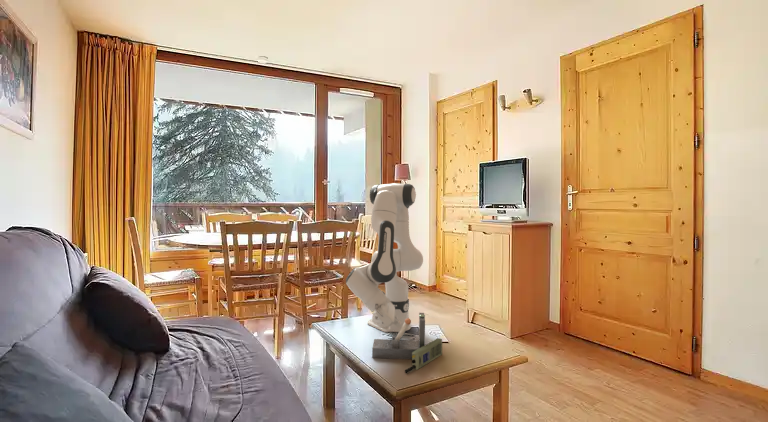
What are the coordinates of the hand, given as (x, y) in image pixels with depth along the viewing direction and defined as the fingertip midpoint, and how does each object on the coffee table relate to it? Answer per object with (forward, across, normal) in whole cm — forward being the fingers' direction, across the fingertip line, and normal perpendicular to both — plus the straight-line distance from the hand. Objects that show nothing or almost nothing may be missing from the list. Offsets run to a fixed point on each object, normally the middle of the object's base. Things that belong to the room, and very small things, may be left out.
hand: (399, 325), depth 167 cm
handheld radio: (+16, -8, +2) cm, 18 cm away
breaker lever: (+4, 0, +7) cm, 8 cm away
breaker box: (+8, 0, +9) cm, 12 cm away
